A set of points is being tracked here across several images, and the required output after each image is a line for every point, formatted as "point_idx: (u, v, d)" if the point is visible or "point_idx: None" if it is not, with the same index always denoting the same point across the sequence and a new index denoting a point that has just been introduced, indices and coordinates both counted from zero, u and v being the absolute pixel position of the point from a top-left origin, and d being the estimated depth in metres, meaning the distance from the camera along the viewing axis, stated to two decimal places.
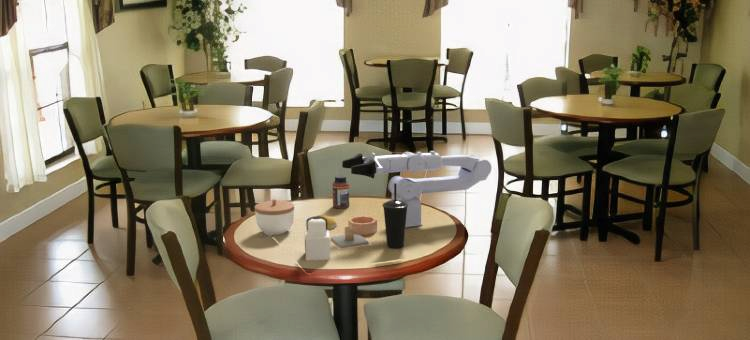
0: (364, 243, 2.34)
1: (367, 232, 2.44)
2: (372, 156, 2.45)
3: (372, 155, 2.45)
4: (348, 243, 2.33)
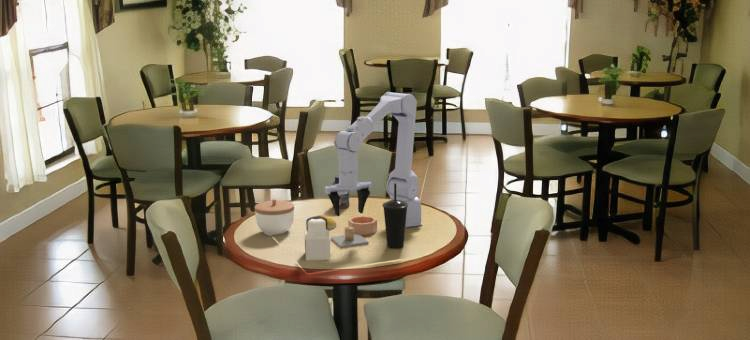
0: (364, 243, 2.34)
1: (367, 232, 2.44)
2: None
3: None
4: (348, 243, 2.33)
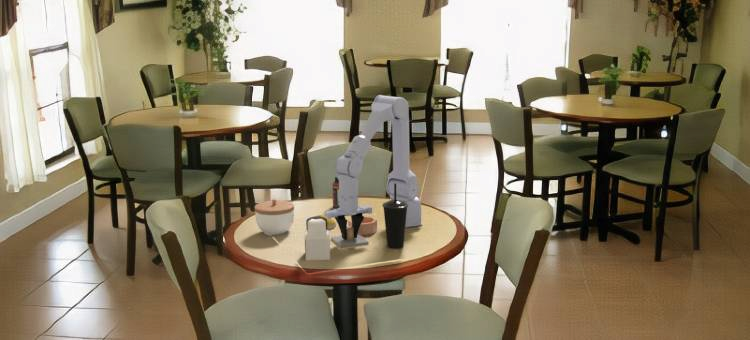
0: (364, 243, 2.34)
1: (367, 232, 2.44)
2: None
3: None
4: (348, 243, 2.33)
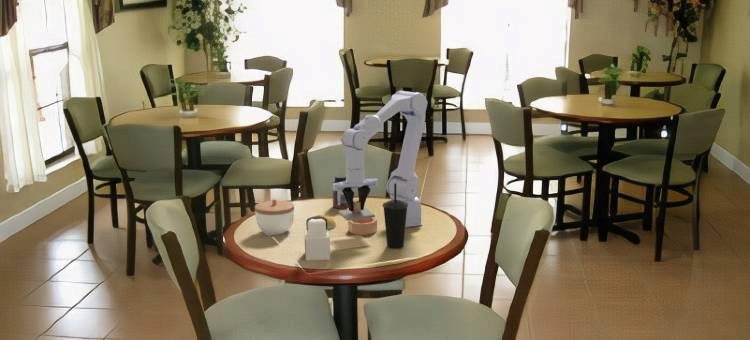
0: (370, 216, 2.38)
1: (367, 232, 2.44)
2: None
3: None
4: (354, 216, 2.37)
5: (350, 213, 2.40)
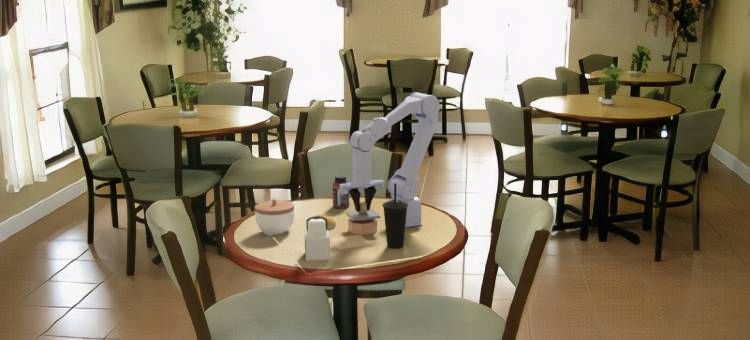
0: (376, 217, 2.43)
1: (367, 232, 2.44)
2: (366, 186, 2.42)
3: (366, 186, 2.42)
4: (360, 216, 2.43)
5: (356, 214, 2.46)
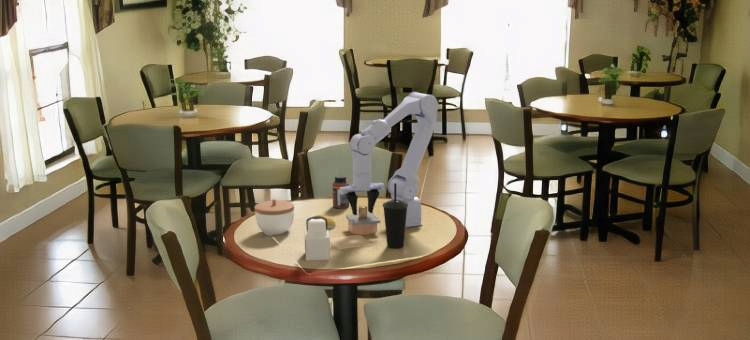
0: (376, 222, 2.44)
1: (367, 232, 2.44)
2: (366, 189, 2.42)
3: (366, 190, 2.42)
4: (360, 221, 2.43)
5: (357, 218, 2.46)
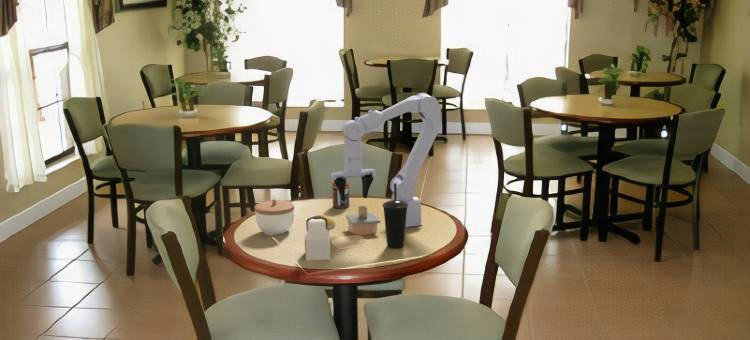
0: (376, 222, 2.44)
1: (367, 232, 2.44)
2: None
3: None
4: (360, 221, 2.43)
5: (357, 218, 2.46)
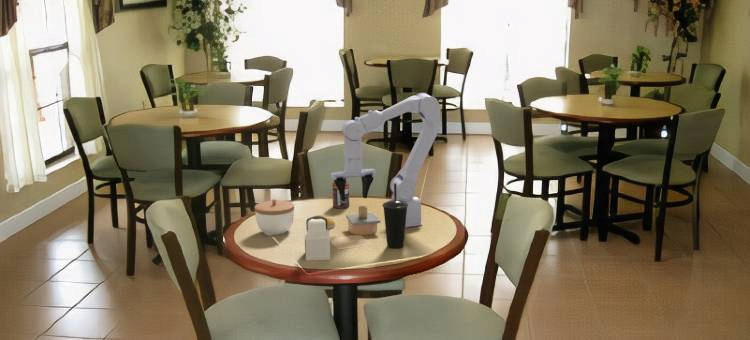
0: (376, 222, 2.44)
1: (367, 232, 2.44)
2: None
3: None
4: (360, 221, 2.43)
5: (357, 218, 2.46)
